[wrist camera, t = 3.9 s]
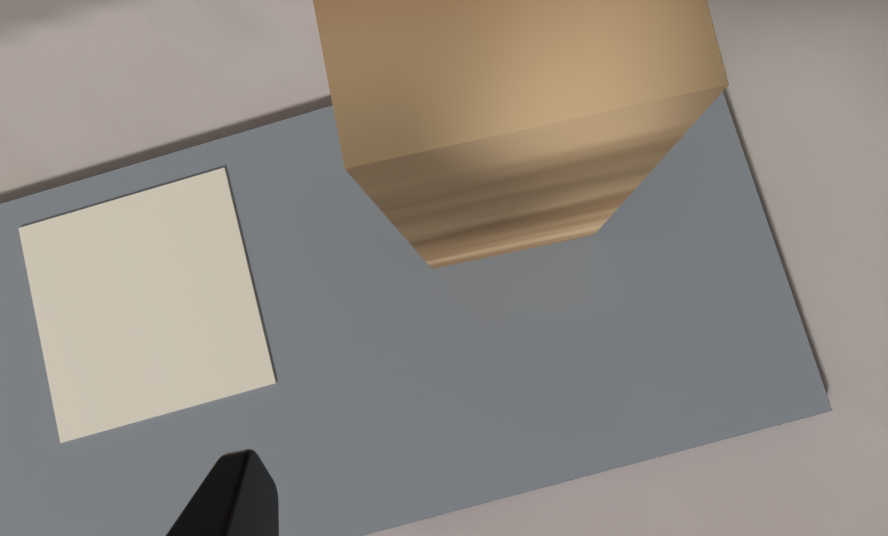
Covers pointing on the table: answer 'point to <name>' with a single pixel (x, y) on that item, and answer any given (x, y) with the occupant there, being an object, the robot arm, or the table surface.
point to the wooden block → (511, 111)
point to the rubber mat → (371, 339)
